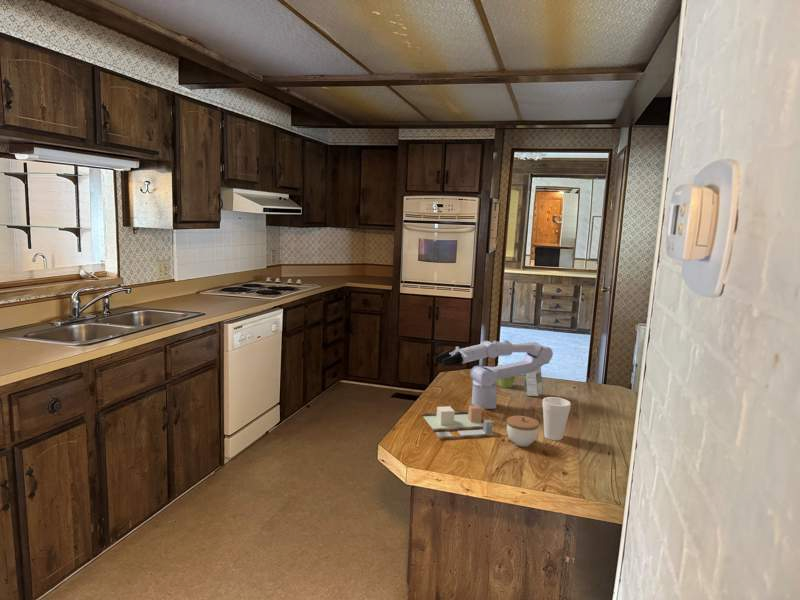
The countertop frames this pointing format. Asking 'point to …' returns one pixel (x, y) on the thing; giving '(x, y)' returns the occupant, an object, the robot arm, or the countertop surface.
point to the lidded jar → (522, 430)
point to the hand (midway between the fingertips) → (438, 361)
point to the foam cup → (555, 417)
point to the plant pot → (506, 382)
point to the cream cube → (445, 415)
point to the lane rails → (448, 435)
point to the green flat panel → (459, 419)
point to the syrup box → (533, 383)
